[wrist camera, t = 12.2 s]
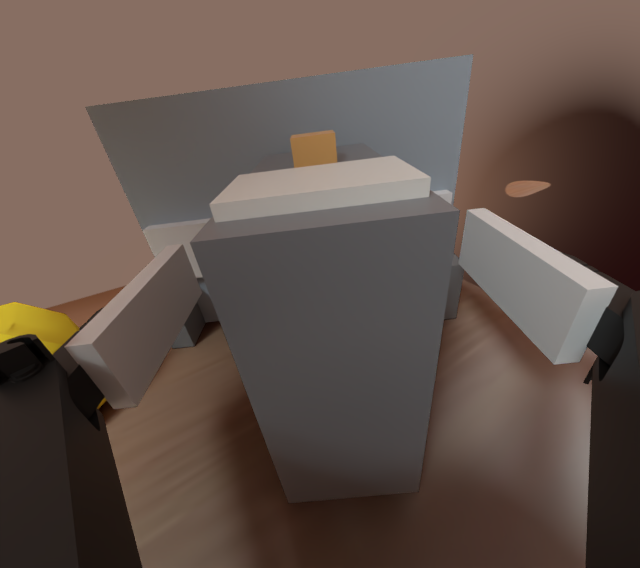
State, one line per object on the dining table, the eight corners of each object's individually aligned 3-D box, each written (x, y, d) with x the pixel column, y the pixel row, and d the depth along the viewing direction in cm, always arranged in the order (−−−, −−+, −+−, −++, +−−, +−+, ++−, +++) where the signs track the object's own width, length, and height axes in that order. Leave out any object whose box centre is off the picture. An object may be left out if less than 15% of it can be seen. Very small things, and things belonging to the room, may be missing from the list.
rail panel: (172, 348, 20) (45, 107, 12) (194, 308, 23) (109, 106, 16) (455, 318, 19) (503, 44, 12) (431, 282, 23) (455, 59, 15)
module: (288, 503, 11) (169, 187, 5) (298, 322, 21) (261, 133, 14) (418, 492, 11) (468, 150, 5) (368, 314, 20) (362, 120, 14)
